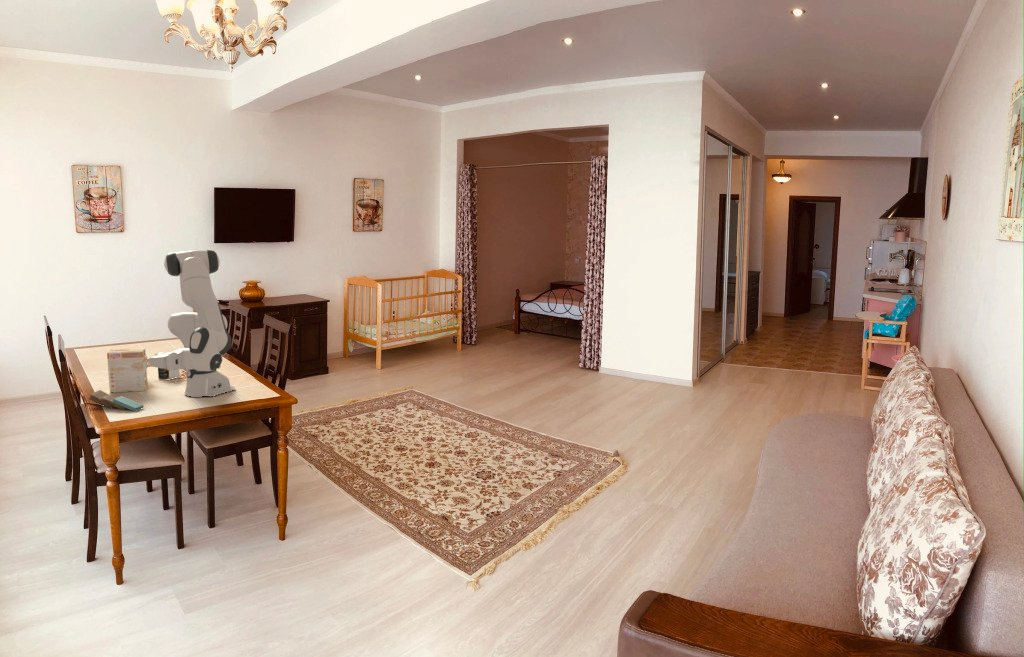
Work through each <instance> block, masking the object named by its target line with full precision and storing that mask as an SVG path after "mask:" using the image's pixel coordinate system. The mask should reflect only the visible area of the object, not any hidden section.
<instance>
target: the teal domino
mask: <svg viewBox="0 0 1024 657" xmlns="http://www.w3.org/2000/svg"><path fill="white" fill-rule="evenodd" d="M113 403H116V404H118V405H120V406H123V407H125V408H127V409H128V410H130V411H132V412H134V411H135V412H137V411H139V409H140V410H142V409H141V408H143V409H144V407H145V405H144V404H142V403H140V402H137V401H135V400H133V399H131V398H128V397H125V396H124V395H121V396H117V398H115V399H113ZM127 409H126V410H127ZM136 410H137V411H136Z"/></svg>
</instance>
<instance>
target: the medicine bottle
mask: <svg viewBox="0 0 1024 657" xmlns="http://www.w3.org/2000/svg"><path fill="white" fill-rule="evenodd" d="M157 376H158V379H159V378H161V379H160V380H163V379H172V378H175V377H179V376H180V377H181V375H180V369H176V370H167V368H158V367H157ZM180 377H179V378H180ZM172 380H173V379H172Z"/></svg>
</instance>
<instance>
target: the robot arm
mask: <svg viewBox="0 0 1024 657" xmlns="http://www.w3.org/2000/svg"><path fill="white" fill-rule="evenodd" d="M163 264H164V269H165V271H166V272H167V274H168V275H170V276H171V277H179V284H180V294H181V301H182V302H183V304H184V305H186V306H187V307H189V308H191V309H193V310H194V311H195V312H193V311H192V312H188V311H186V312H177V313H172V314H171V315H170V316H169V318H168V321H167V329H168V331H169V332H170V333H171V334H172V335H173V336H175V337H176V338H177V339H178V340H179V341H180V342H181V343H182V346H183V347H180V348H178V349H175V350H171V351H167V352H158V353H155V354H154V355H153V356H150V357H149V358H148V360H149V362H150V367H153V368H157V369H158V368H167V370H176V369H179V370H185V373H186V374H185V375H186V385H185V386H186V387H185V391H184V395H185V396H186V395H187V396H186V397H189V396H191V398H203V397H202V396H213V397H215V396H214V395H217V396H219V395H218V394H220V395H222V394H221V393H224V394H226V393H225V392H227V393H229V392H228V391H231V392H233V391H232V390H234V391H236V386H233V385H231V383H230V382H231V381H230V379H229V377H228V376H227V375H224V373H222V372H219V371H218V369H220V368H221V365H222V362H223V355H225V354H227V352H228V351H229V350H230V349H231V347H232V337H231V335H230V334H229V332H228V330H227V328H228V320H227V318H226V316H225V315H224V314H223V313H222V310H221V306H220V304H219V300H218V299H217V297H216V295H215V292H214V289H213V286H212V280H211V277H210V276H211V274H214V273H216V272H217V271H218V270H219V267H220V264H221V263H220V257H219V255H218V254H217V252H216V251H215V250H212V249H206V250H201V249H199V250H198V249H195V250H194V249H191V250H183V251H179V252H175V251H173V252H169V253H167V254H166V255H165V258H164V263H163Z"/></svg>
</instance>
